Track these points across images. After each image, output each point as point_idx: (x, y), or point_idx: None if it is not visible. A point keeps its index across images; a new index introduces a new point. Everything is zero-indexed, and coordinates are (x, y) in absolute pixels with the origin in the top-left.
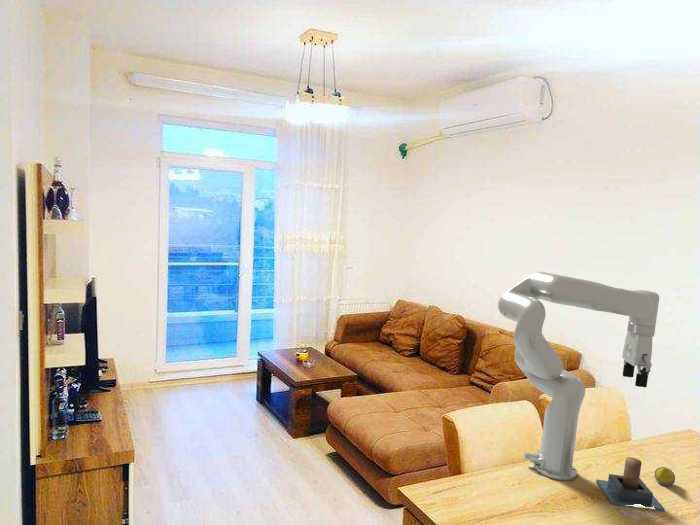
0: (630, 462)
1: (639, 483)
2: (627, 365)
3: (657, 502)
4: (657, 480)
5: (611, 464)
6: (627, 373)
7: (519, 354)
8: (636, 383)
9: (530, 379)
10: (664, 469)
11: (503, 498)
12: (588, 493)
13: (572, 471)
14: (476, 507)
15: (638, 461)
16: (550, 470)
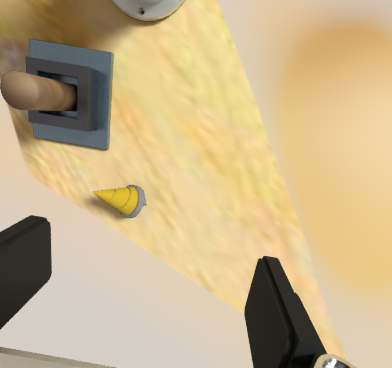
0: (5, 75)
1: (64, 117)
2: (284, 360)
3: (51, 136)
4: (130, 185)
5: (195, 134)
6: (257, 295)
7: None
8: (18, 224)
9: None
10: (96, 191)
11: None
12: (62, 9)
13: (129, 1)
14: None
15: (16, 101)
16: None
